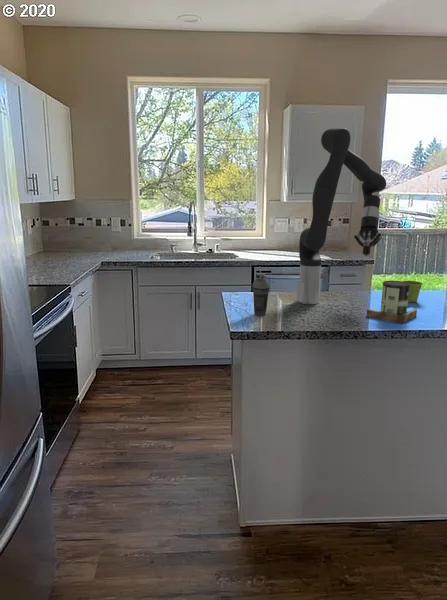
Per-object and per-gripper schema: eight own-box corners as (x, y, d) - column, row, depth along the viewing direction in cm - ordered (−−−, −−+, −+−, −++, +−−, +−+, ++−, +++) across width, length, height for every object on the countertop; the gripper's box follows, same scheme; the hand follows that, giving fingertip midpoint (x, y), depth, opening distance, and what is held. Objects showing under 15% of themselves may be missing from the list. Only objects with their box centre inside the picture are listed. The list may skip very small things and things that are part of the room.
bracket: (365, 315, 187) (366, 308, 186) (415, 315, 187) (415, 308, 187) (374, 323, 176) (375, 316, 175) (427, 323, 177) (428, 316, 176)
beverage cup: (257, 318, 181) (258, 269, 176) (247, 313, 188) (249, 265, 182) (272, 316, 185) (274, 267, 180) (262, 311, 191) (264, 264, 186)
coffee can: (403, 313, 190) (406, 280, 186) (408, 321, 180) (412, 286, 176) (377, 312, 191) (380, 279, 188) (381, 319, 181) (385, 285, 178)
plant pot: (418, 304, 205) (421, 285, 202) (397, 301, 209) (399, 283, 207) (422, 300, 212) (424, 282, 210) (401, 297, 217) (403, 279, 215)
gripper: (352, 216, 206) (348, 253, 203) (381, 213, 198) (377, 251, 195) (359, 223, 212) (355, 258, 209) (387, 220, 203) (383, 256, 200)
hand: (366, 255), depth 202 cm, fingers closed
